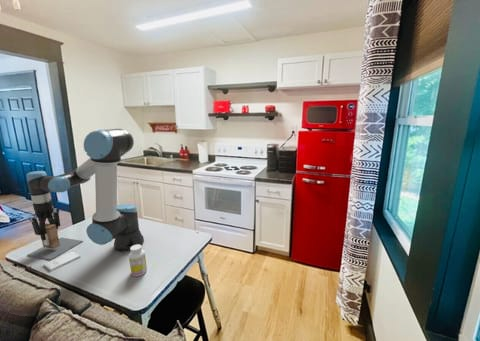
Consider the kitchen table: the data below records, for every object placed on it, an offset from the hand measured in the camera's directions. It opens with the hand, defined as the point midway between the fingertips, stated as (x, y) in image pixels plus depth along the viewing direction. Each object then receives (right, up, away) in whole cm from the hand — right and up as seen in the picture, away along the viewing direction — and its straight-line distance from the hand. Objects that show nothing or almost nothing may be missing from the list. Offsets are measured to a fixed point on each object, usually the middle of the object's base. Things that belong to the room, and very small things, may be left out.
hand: (51, 242), depth 123 cm
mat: (+1, -4, +3) cm, 5 cm away
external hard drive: (+13, -7, -8) cm, 17 cm away
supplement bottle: (+54, -9, -17) cm, 57 cm away
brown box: (0, -2, 0) cm, 2 cm away
